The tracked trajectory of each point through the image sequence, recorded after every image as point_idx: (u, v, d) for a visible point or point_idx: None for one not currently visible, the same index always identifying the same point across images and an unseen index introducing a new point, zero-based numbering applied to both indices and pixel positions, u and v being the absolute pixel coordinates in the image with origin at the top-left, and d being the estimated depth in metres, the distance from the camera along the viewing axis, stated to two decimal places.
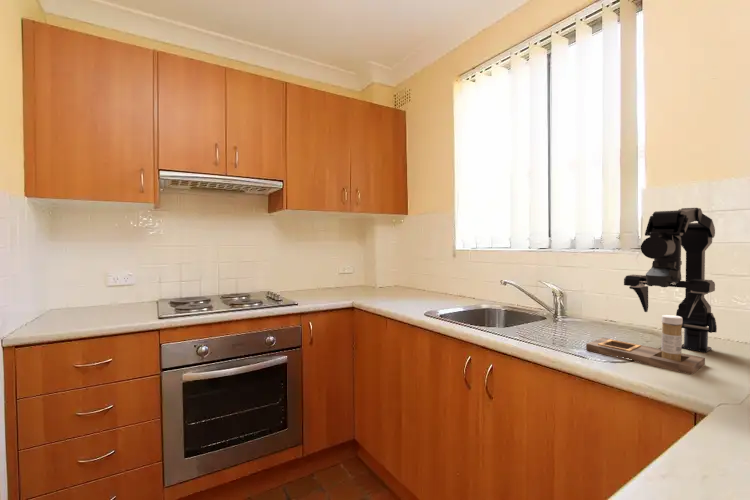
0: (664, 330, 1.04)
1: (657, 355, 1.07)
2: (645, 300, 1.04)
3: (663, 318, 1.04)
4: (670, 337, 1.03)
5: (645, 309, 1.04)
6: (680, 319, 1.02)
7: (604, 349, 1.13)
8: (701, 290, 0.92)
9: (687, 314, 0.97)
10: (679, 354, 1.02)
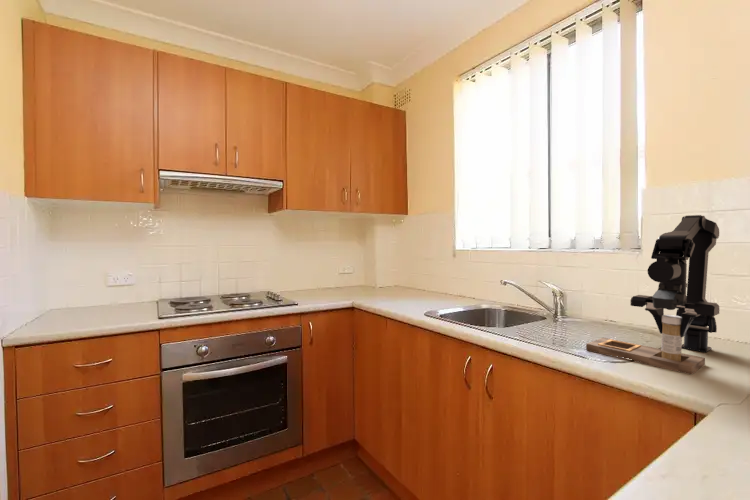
0: (664, 330, 1.04)
1: (657, 355, 1.07)
2: (661, 322, 1.06)
3: (663, 318, 1.04)
4: (670, 337, 1.03)
5: (661, 331, 1.06)
6: (680, 319, 1.02)
7: (604, 349, 1.13)
8: (706, 313, 0.96)
9: (682, 334, 1.02)
10: (679, 354, 1.02)
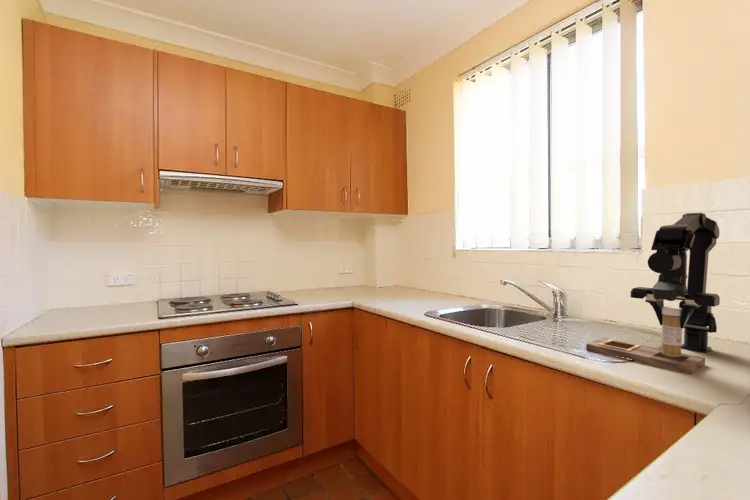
0: (664, 322, 1.04)
1: (657, 355, 1.07)
2: (661, 313, 1.06)
3: (663, 310, 1.04)
4: (670, 328, 1.02)
5: (661, 322, 1.05)
6: (680, 310, 1.02)
7: (604, 349, 1.13)
8: (706, 304, 0.95)
9: (682, 325, 1.02)
10: (679, 345, 1.02)
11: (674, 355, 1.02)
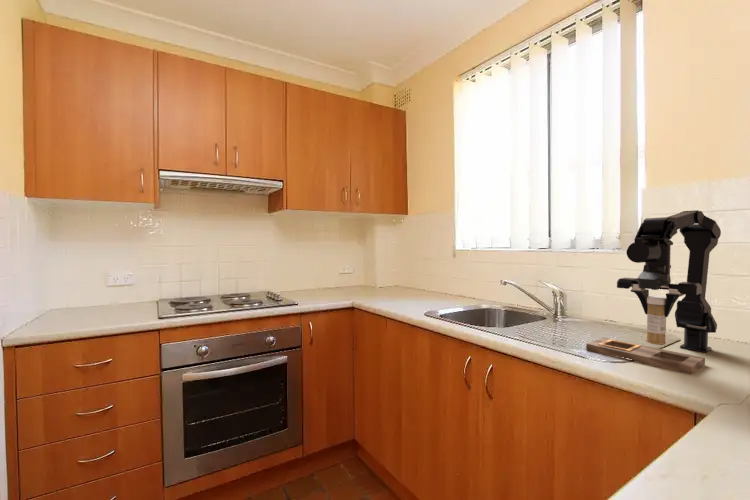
0: (649, 311, 1.07)
1: (657, 355, 1.07)
2: (646, 303, 1.08)
3: (648, 299, 1.07)
4: (655, 317, 1.05)
5: (646, 311, 1.08)
6: (664, 299, 1.05)
7: (604, 349, 1.13)
8: (689, 292, 0.98)
9: (666, 314, 1.04)
10: (663, 334, 1.05)
11: (659, 343, 1.05)
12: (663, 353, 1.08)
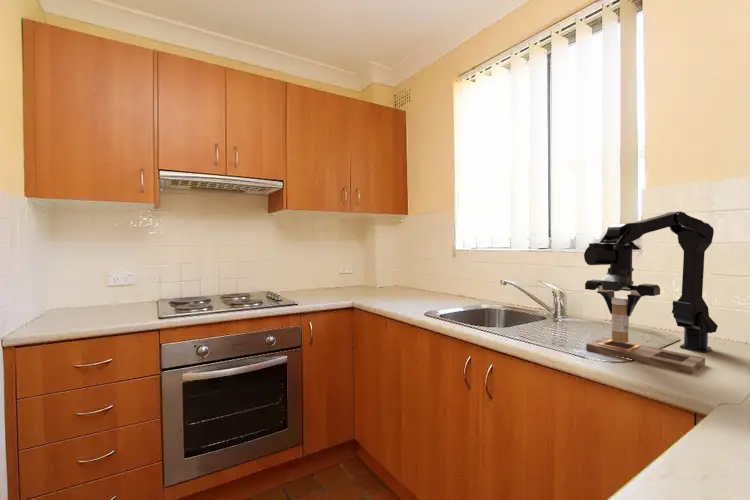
0: (613, 310, 1.14)
1: (657, 355, 1.07)
2: (611, 303, 1.16)
3: (612, 300, 1.14)
4: (618, 316, 1.13)
5: (611, 311, 1.16)
6: (626, 300, 1.12)
7: (604, 349, 1.13)
8: (647, 294, 1.06)
9: (628, 313, 1.12)
10: (626, 332, 1.13)
11: (621, 341, 1.13)
12: (663, 353, 1.08)
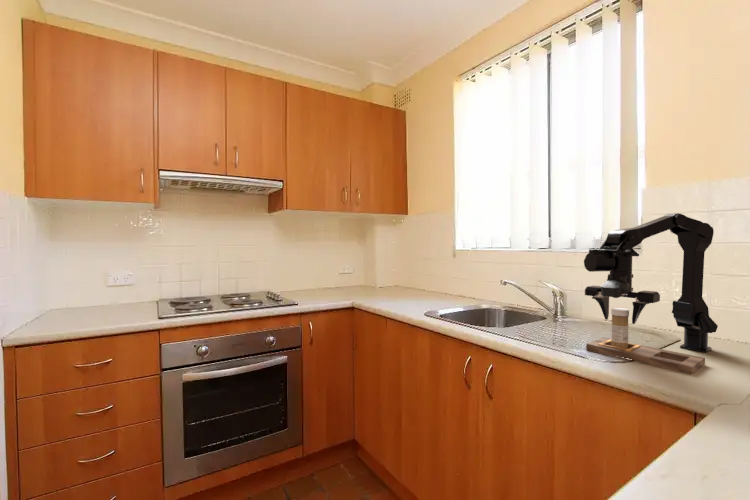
0: (613, 321, 1.15)
1: (657, 355, 1.07)
2: (606, 309, 1.17)
3: (612, 310, 1.15)
4: (618, 327, 1.13)
5: (606, 317, 1.17)
6: (626, 311, 1.12)
7: (604, 349, 1.13)
8: (647, 301, 1.06)
9: (633, 321, 1.11)
10: (626, 343, 1.13)
11: None
12: (663, 353, 1.08)
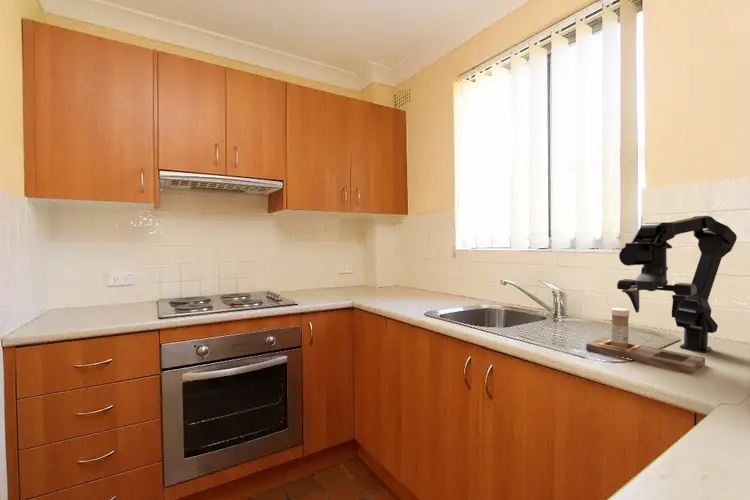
0: (613, 321, 1.15)
1: (657, 355, 1.07)
2: (636, 302, 1.17)
3: (612, 311, 1.15)
4: (618, 327, 1.13)
5: (636, 310, 1.17)
6: (627, 311, 1.12)
7: (604, 349, 1.13)
8: (684, 293, 1.05)
9: (673, 314, 1.09)
10: (626, 343, 1.13)
11: None
12: (663, 353, 1.08)
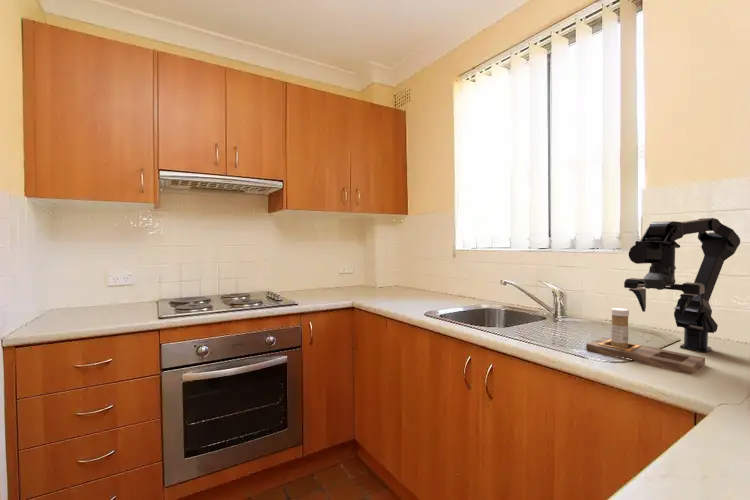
0: (613, 321, 1.15)
1: (657, 355, 1.07)
2: (643, 301, 1.17)
3: (612, 311, 1.15)
4: (618, 327, 1.13)
5: (643, 309, 1.17)
6: (626, 311, 1.12)
7: (604, 349, 1.13)
8: (692, 292, 1.05)
9: (680, 313, 1.09)
10: (626, 343, 1.13)
11: None
12: (663, 353, 1.08)
